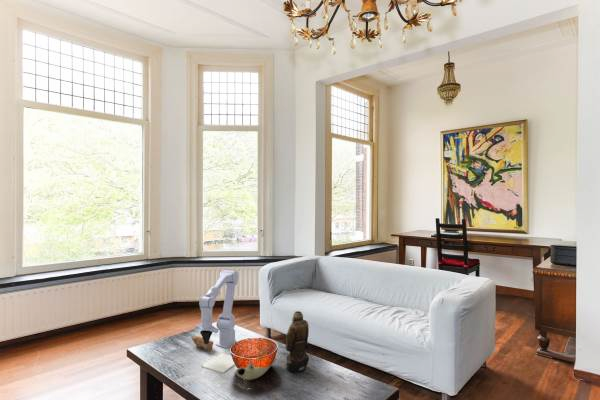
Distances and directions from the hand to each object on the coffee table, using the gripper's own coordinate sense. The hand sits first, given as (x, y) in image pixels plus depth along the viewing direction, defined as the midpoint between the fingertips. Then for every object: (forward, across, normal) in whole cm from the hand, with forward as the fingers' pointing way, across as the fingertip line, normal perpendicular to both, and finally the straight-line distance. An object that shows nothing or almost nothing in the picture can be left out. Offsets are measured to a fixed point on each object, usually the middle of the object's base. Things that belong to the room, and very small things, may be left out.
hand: (206, 343), depth 187 cm
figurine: (+3, -5, +8) cm, 10 cm away
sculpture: (+9, +47, +15) cm, 50 cm away
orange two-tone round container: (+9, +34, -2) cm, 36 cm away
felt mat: (+9, +10, +1) cm, 13 cm away
